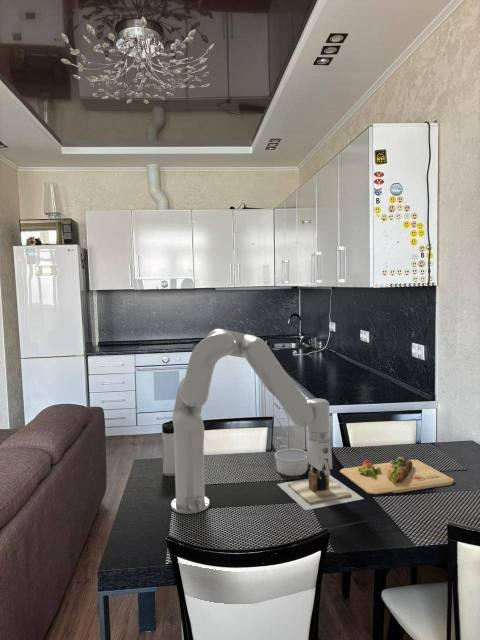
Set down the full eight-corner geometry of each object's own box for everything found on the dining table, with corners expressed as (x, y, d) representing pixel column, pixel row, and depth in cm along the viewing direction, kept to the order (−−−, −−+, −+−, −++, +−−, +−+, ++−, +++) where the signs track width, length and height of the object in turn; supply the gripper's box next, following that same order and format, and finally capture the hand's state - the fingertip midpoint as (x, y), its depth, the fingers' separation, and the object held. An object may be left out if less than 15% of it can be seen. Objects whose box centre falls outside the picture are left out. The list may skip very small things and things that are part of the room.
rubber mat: (364, 500, 160) (364, 498, 160) (305, 511, 152) (305, 510, 152) (330, 476, 181) (330, 475, 180) (276, 485, 173) (276, 484, 173)
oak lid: (351, 496, 162) (351, 476, 161) (309, 504, 156) (309, 484, 156) (327, 479, 177) (327, 461, 176) (287, 485, 171) (287, 467, 171)
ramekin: (307, 479, 178) (307, 461, 178) (272, 477, 181) (272, 459, 181) (310, 466, 191) (309, 449, 191) (277, 464, 194) (276, 447, 194)
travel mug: (181, 470, 189) (180, 420, 188) (177, 476, 183) (176, 425, 181) (165, 470, 190) (164, 420, 188) (161, 476, 183) (160, 425, 182)
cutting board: (370, 498, 163) (370, 477, 162) (337, 473, 185) (337, 454, 185) (456, 485, 172) (456, 465, 172) (415, 463, 195) (415, 444, 194)
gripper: (340, 440, 159) (340, 494, 160) (316, 427, 174) (316, 476, 175) (320, 443, 156) (321, 498, 157) (297, 429, 172) (298, 479, 173)
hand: (318, 486), depth 166 cm, fingers closed on oak lid, 3 cm apart
